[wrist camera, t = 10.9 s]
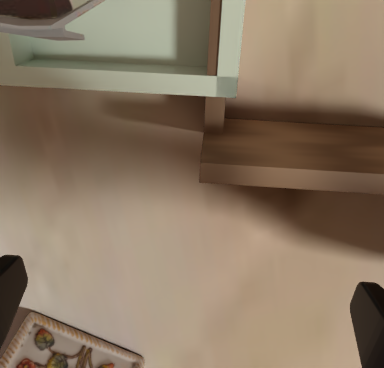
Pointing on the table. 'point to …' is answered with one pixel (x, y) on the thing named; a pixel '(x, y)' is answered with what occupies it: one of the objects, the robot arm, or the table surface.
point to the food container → (43, 17)
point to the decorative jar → (62, 348)
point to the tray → (132, 50)
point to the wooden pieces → (285, 146)
